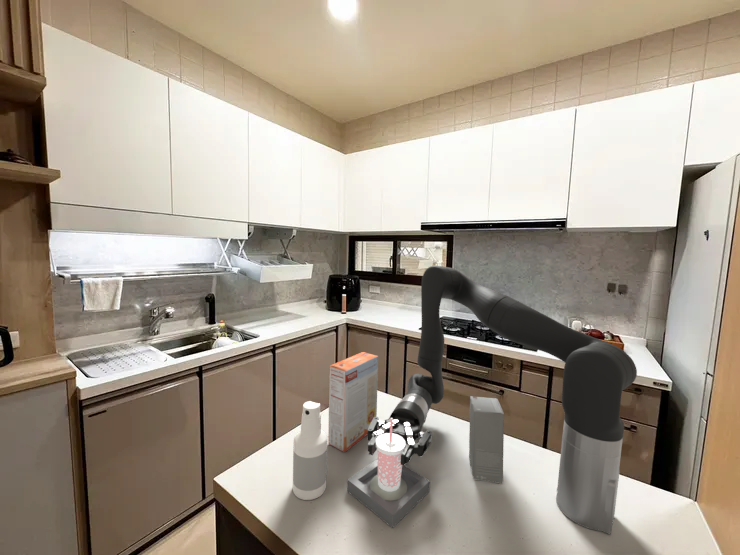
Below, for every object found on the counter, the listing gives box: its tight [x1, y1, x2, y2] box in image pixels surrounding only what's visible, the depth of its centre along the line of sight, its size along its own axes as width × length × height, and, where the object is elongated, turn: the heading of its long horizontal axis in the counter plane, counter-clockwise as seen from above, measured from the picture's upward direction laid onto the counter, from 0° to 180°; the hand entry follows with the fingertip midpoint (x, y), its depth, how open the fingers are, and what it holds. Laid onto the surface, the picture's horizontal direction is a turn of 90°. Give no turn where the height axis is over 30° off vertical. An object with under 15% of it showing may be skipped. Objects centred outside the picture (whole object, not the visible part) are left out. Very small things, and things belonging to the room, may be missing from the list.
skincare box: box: [468, 395, 505, 484], centre depth 72 cm, size 8×7×16 cm
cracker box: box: [327, 351, 379, 453], centre depth 82 cm, size 14×6×21 cm, turn 144°
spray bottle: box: [292, 400, 328, 501], centre depth 64 cm, size 7×7×18 cm
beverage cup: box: [376, 417, 406, 491], centre depth 64 cm, size 6×6×14 cm
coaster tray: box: [346, 459, 431, 529], centre depth 64 cm, size 12×12×2 cm
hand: (386, 455), depth 62 cm, fingers closed on beverage cup, 6 cm apart
